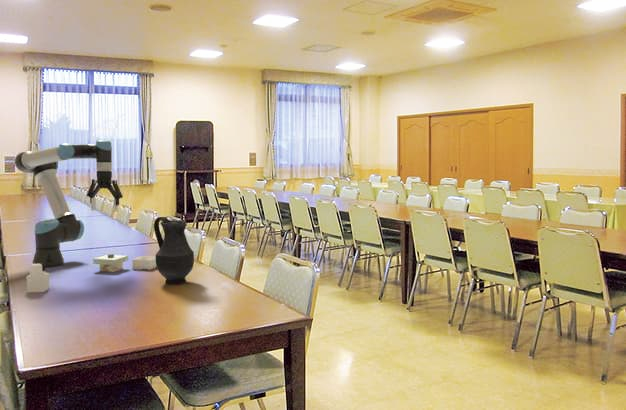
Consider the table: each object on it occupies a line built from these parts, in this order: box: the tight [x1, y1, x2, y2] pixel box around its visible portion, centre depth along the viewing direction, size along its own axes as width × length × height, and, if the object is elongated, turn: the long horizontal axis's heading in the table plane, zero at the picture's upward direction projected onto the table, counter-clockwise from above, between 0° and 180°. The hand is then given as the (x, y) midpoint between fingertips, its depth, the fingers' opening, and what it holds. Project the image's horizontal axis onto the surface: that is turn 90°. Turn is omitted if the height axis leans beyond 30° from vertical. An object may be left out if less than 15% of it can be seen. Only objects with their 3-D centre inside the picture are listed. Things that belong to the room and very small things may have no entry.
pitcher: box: [153, 216, 195, 286], centre depth 267 cm, size 17×21×30 cm
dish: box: [131, 255, 157, 271], centre depth 301 cm, size 10×10×5 cm
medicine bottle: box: [25, 262, 51, 294], centre depth 250 cm, size 7×7×12 cm
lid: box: [92, 253, 129, 265], centre depth 295 cm, size 12×12×4 cm
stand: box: [98, 262, 124, 273], centre depth 295 cm, size 8×8×4 cm
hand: (104, 210), depth 305 cm, fingers open, 13 cm apart
